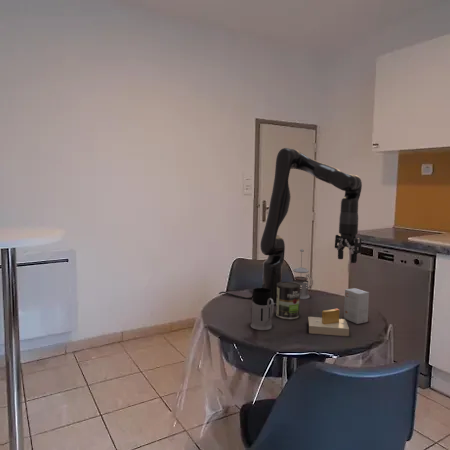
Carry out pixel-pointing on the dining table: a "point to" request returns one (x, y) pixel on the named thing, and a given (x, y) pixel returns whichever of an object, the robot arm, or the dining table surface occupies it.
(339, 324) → the base
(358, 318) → the small box
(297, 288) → the coffee can
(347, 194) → the robot arm
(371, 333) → the dining table surface
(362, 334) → the dining table surface
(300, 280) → the french press
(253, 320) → the glass holder
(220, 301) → the dining table surface
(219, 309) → the dining table surface
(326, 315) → the tan rectangular block
